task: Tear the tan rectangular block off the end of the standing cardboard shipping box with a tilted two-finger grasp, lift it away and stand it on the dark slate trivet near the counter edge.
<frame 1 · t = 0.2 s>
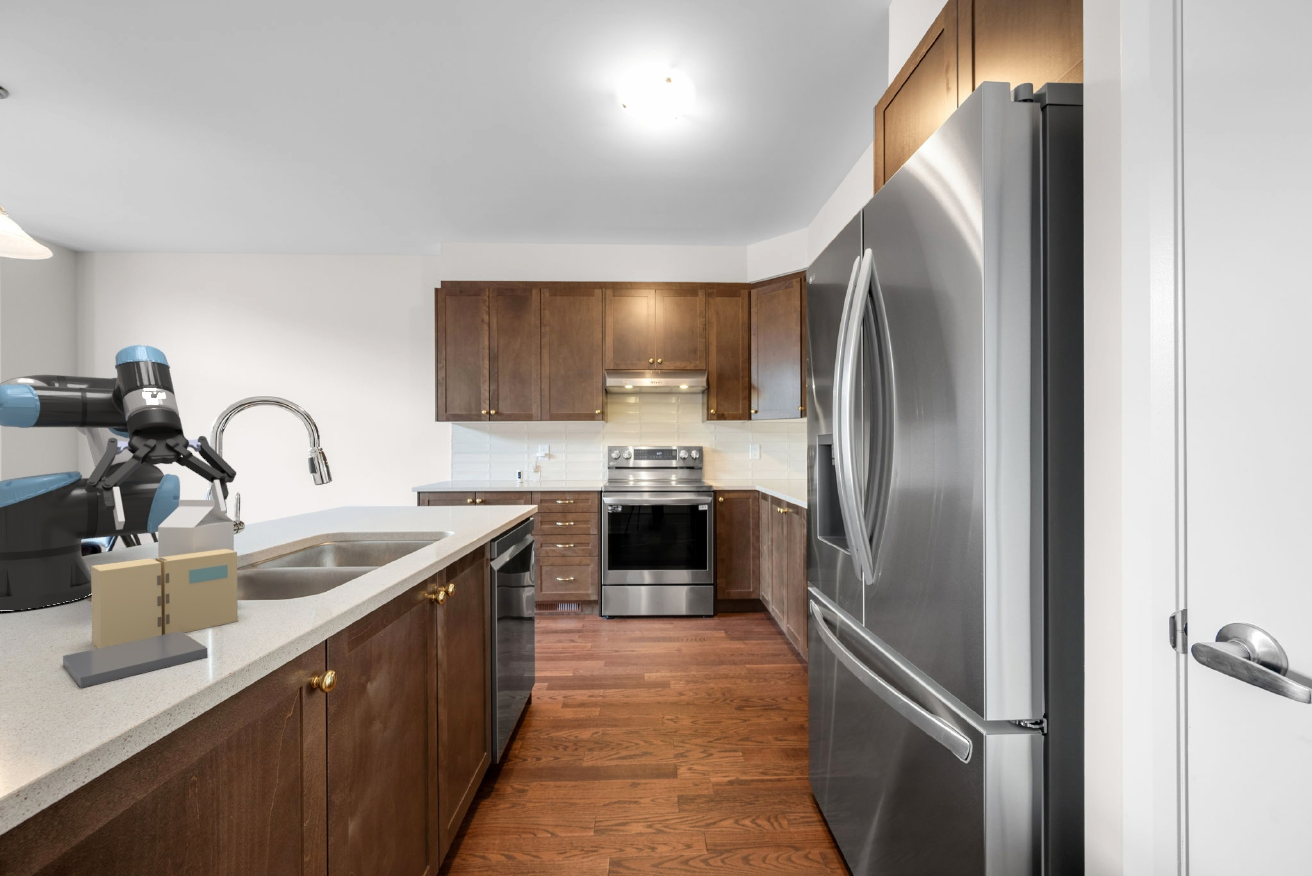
hand: (174, 519, 100), 15 cm above the countertop, tool tilted 35°, fingers open, 13 cm apart
milk carton: (197, 615, 97), on the countertop
tan rectangular block: (127, 640, 84), on the countertop
trivet: (136, 661, 76), on the countertop
cardboard shipping box: (197, 625, 91), on the countertop
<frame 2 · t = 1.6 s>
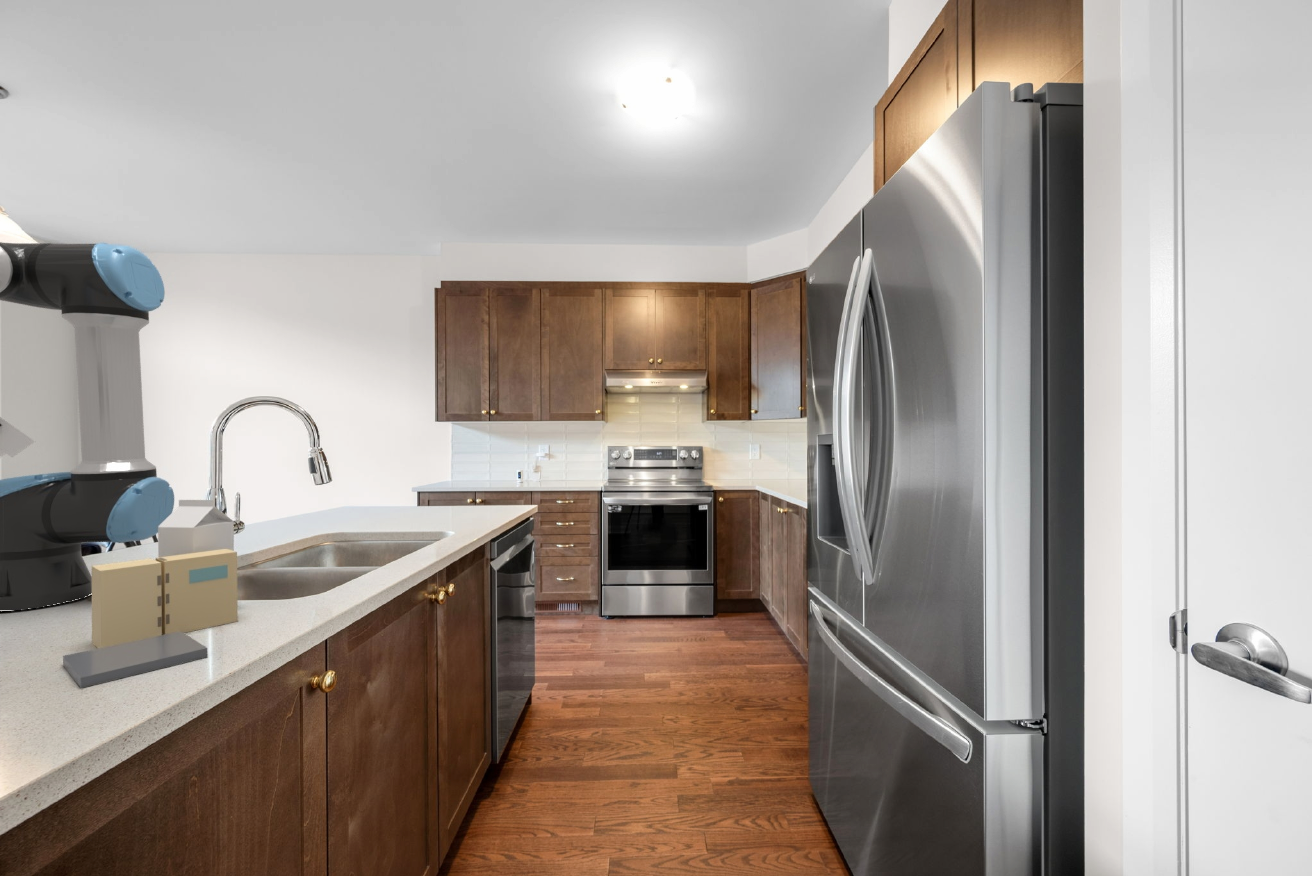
hand: (17, 450, 76), 28 cm above the countertop, tool tilted 45°, fingers open, 13 cm apart
nothing on the countertop moved.
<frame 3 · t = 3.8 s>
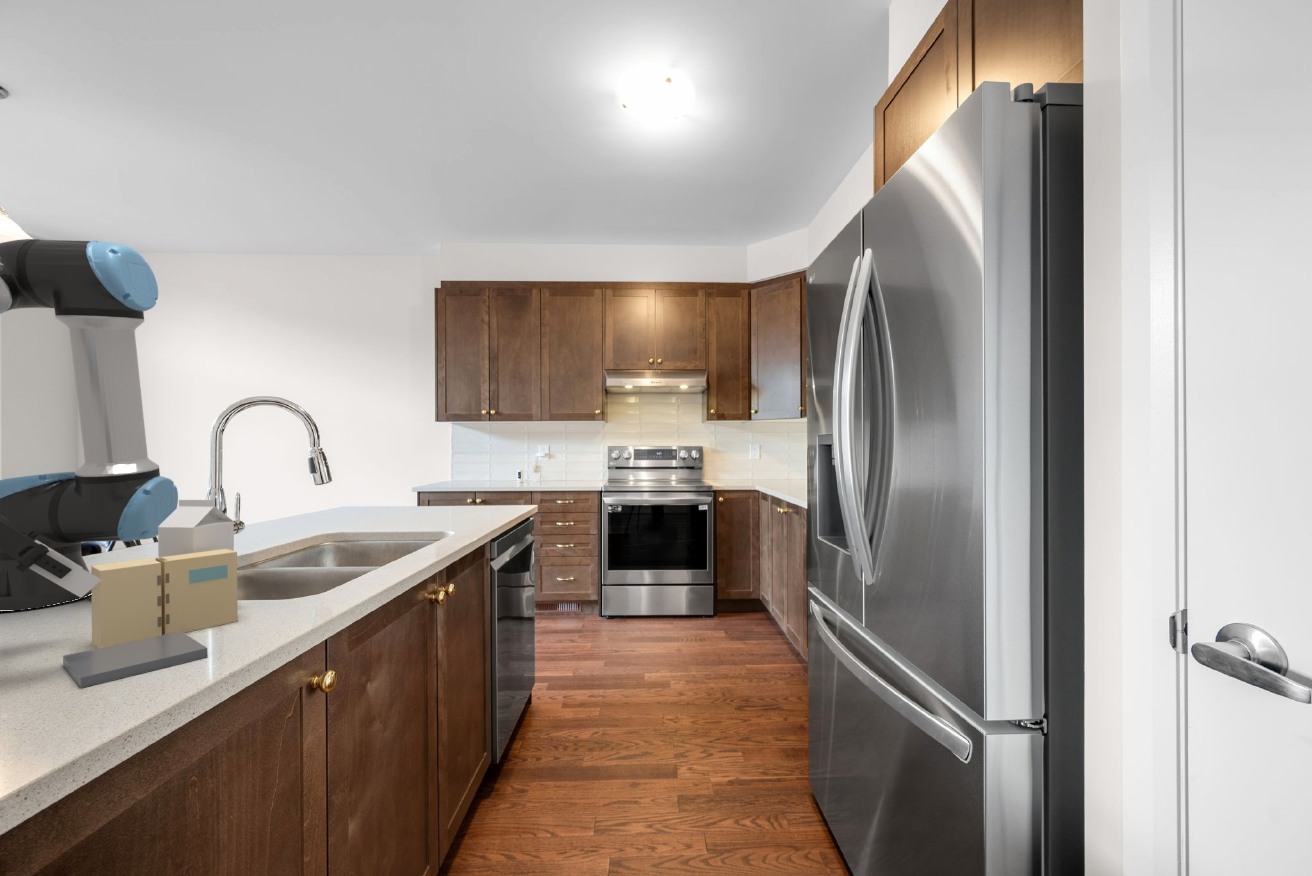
hand: (82, 581, 80), 10 cm above the countertop, tool tilted 45°, fingers open, 13 cm apart
nothing on the countertop moved.
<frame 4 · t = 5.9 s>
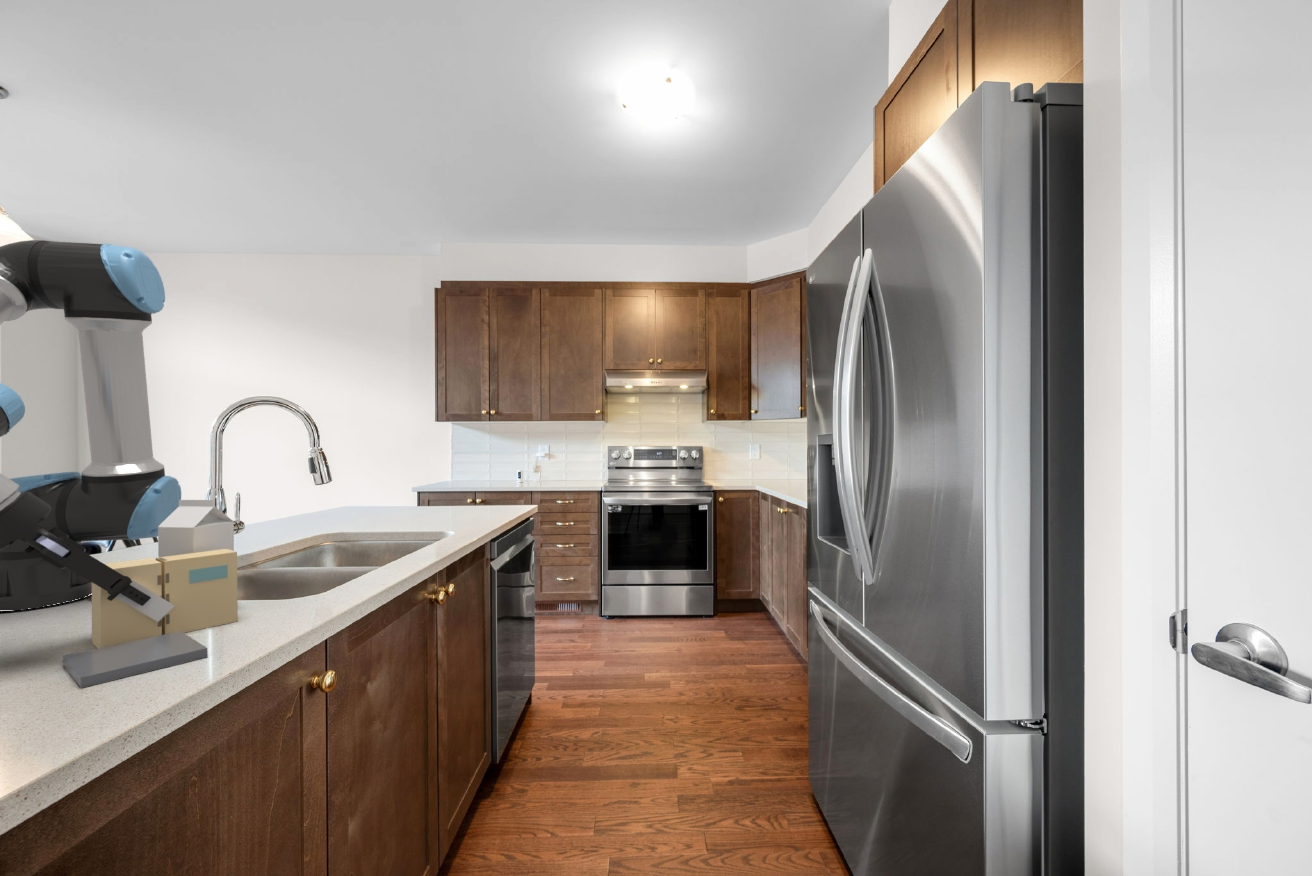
hand: (159, 609, 87), 4 cm above the countertop, tool tilted 45°, fingers closed on tan rectangular block, 6 cm apart
tan rectangular block: (127, 640, 84), on the countertop, touching gripper
everything else where it was.
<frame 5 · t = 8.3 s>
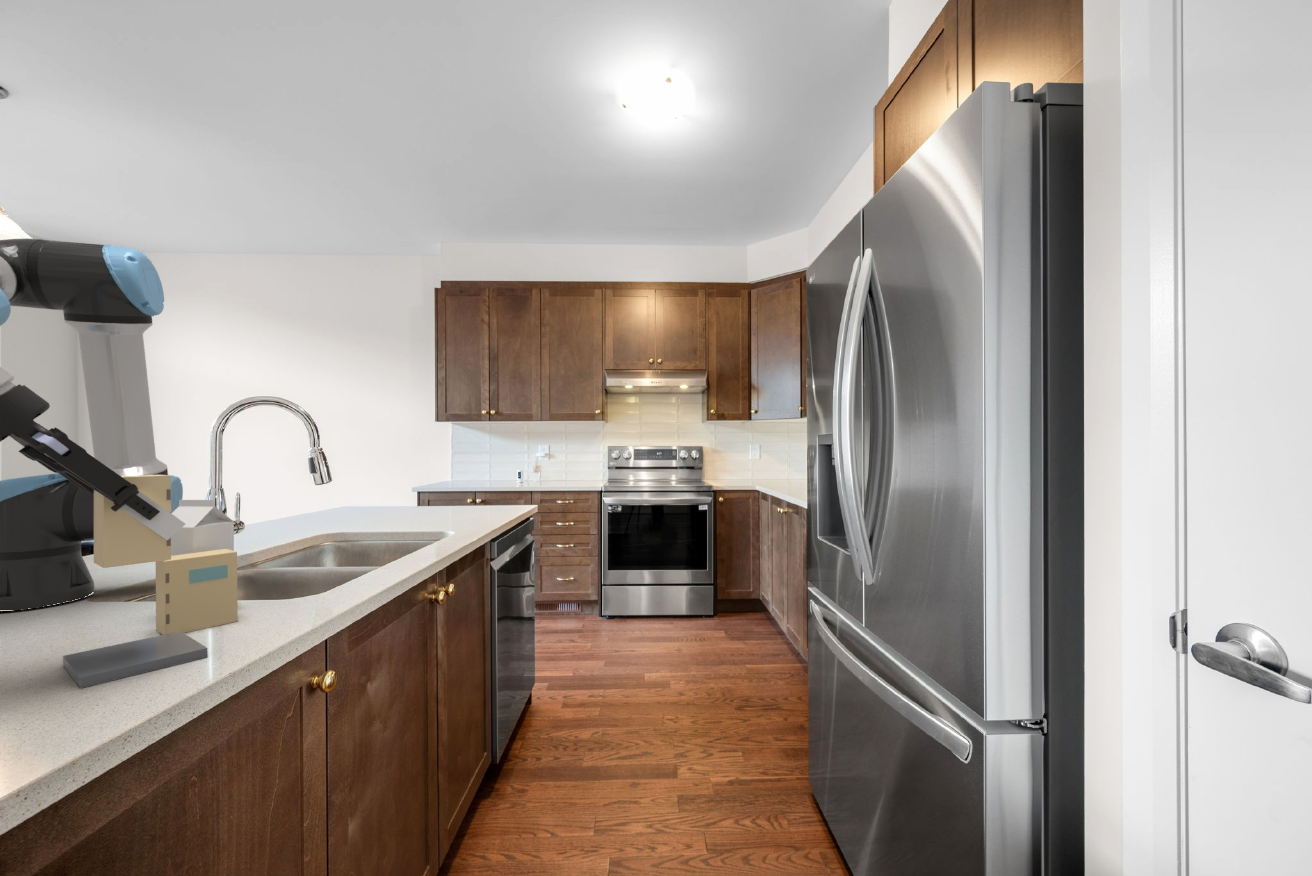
hand: (168, 529, 79), 17 cm above the countertop, tool tilted 45°, fingers closed on tan rectangular block, 6 cm apart
tan rectangular block: (132, 561, 76), point 13 cm above the countertop, touching gripper
everything else where it was.
when the fingers open (6 cm above the countertop, at t = 10.6 s): tan rectangular block stays where it is, resting on trivet.
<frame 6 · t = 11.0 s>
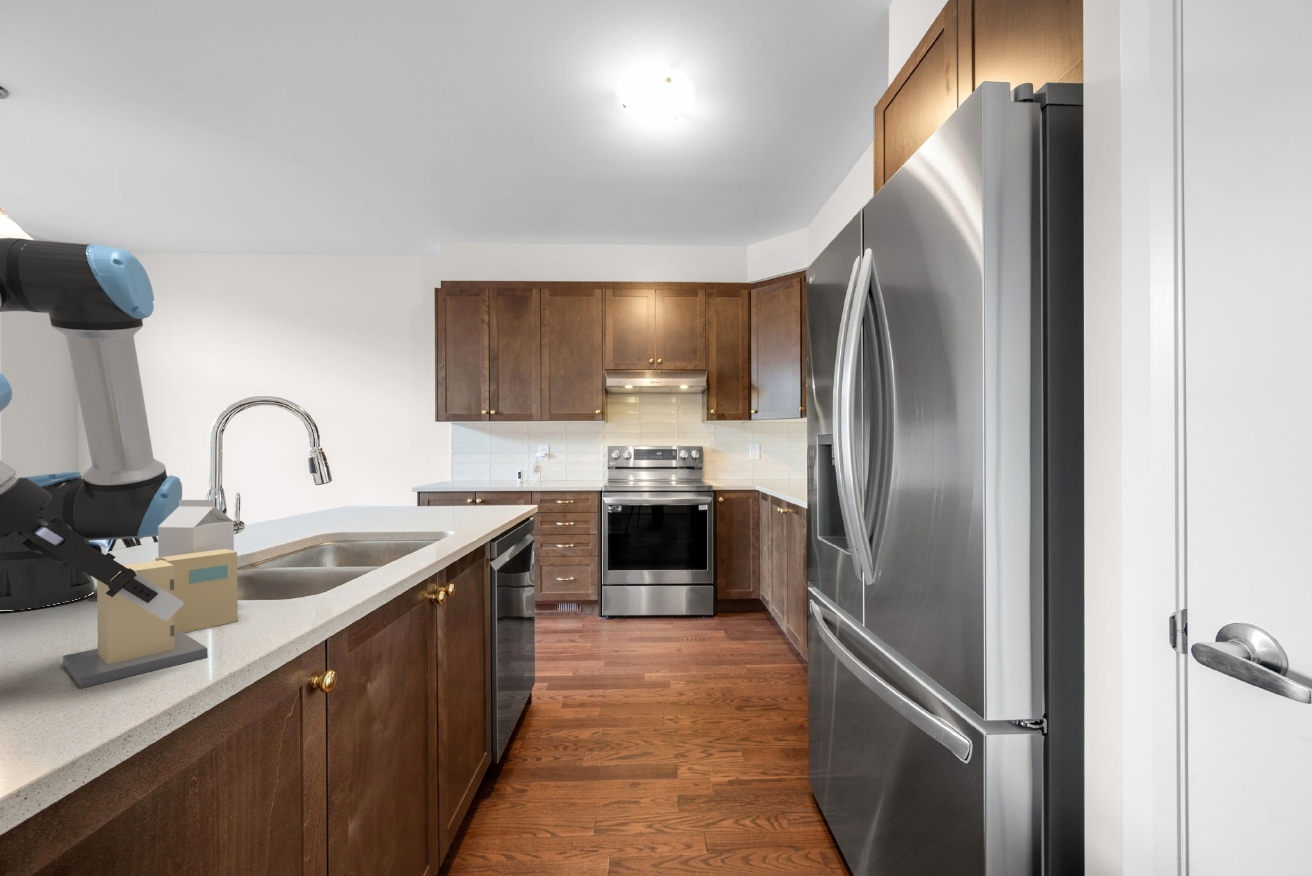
hand: (161, 604, 78), 7 cm above the countertop, tool tilted 45°, fingers open, 12 cm apart
tan rectangular block: (136, 651, 76), point 1 cm above the countertop, touching trivet
everything else where it was.
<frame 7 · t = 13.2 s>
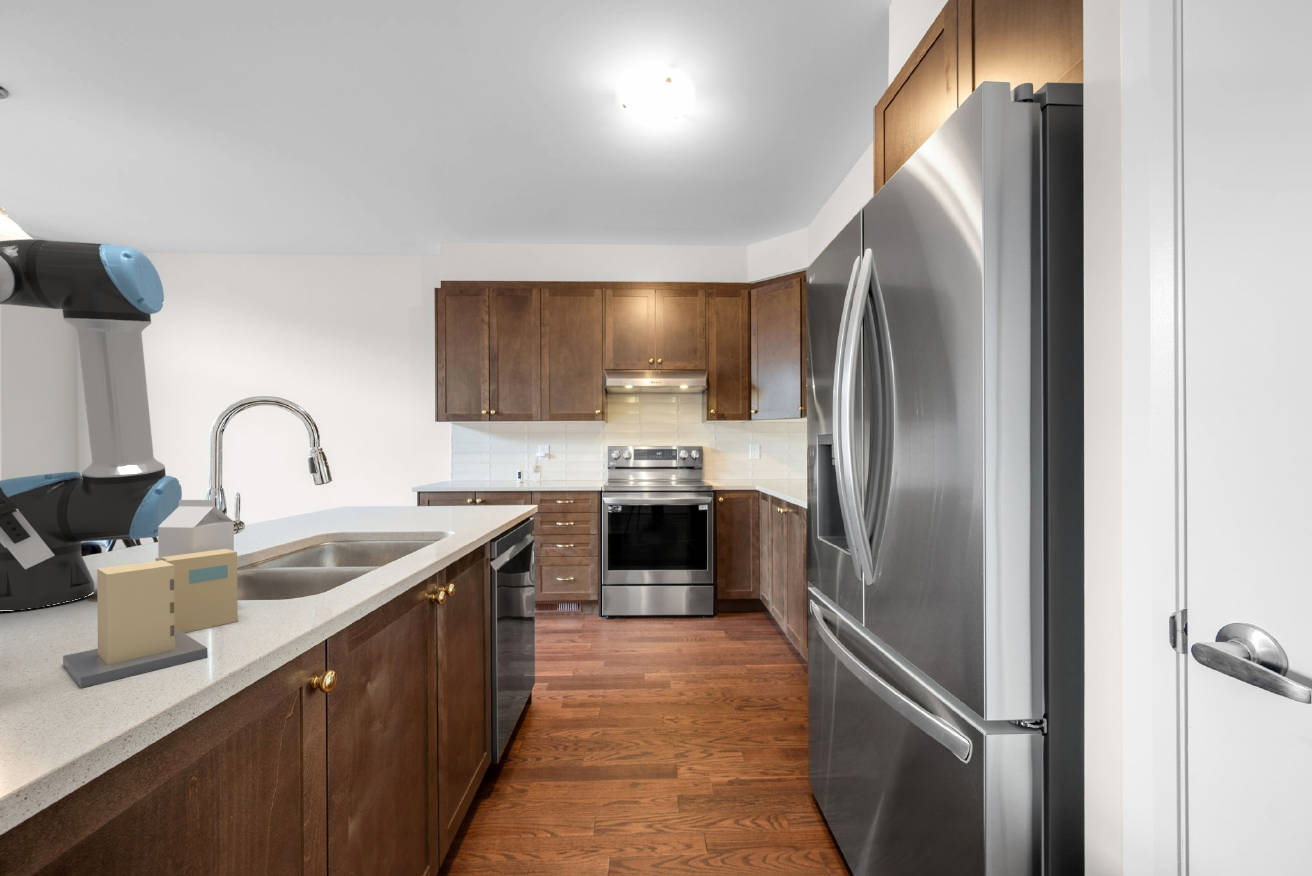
hand: (28, 551, 73), 15 cm above the countertop, tool tilted 30°, fingers open, 13 cm apart
nothing on the countertop moved.
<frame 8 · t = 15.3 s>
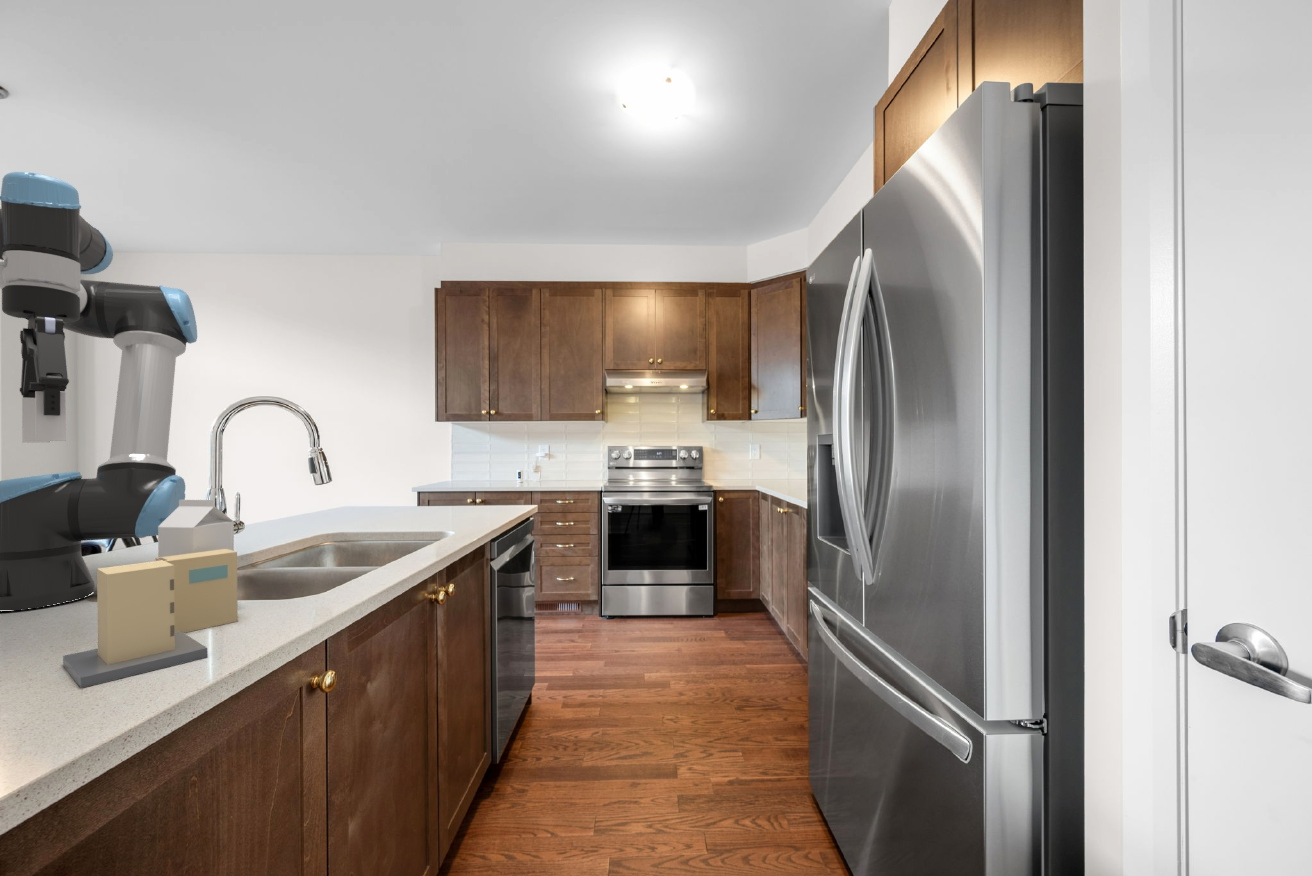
hand: (43, 442, 81), 29 cm above the countertop, tool pointing down, fingers open, 13 cm apart
nothing on the countertop moved.
at the end: tan rectangular block 0.1 cm from the trivet (horizontally); tan rectangular block touching trivet; tan rectangular block tilted 0° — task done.
